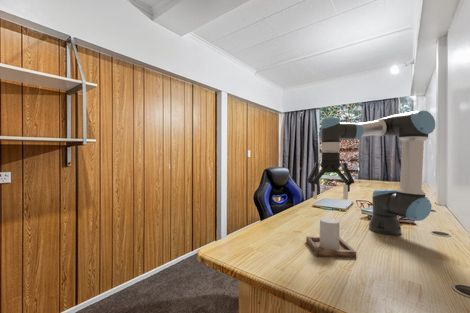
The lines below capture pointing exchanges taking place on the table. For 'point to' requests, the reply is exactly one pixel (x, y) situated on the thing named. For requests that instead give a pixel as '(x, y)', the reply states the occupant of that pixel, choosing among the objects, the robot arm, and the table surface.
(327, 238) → the pale grey cylinder
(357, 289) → the table surface
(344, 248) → the tray
